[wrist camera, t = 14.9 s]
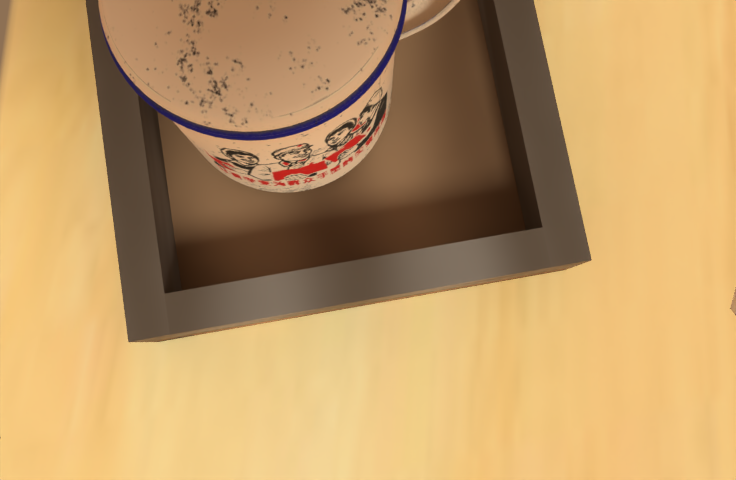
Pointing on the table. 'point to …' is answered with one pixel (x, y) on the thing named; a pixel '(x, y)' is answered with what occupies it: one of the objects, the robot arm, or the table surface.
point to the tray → (352, 191)
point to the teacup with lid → (268, 78)
